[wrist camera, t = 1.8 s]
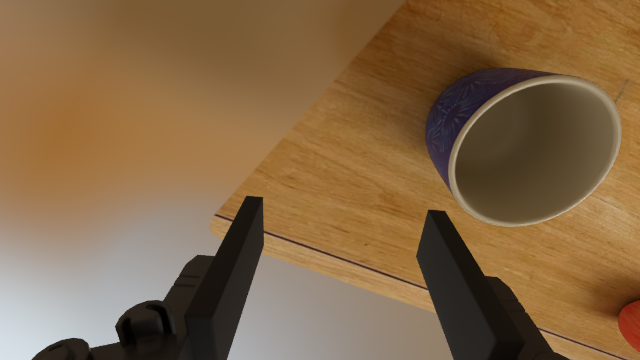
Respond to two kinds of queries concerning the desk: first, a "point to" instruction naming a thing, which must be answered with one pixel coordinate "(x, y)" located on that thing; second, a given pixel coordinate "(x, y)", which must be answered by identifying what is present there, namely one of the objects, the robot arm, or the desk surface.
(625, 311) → the apple
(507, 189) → the planter
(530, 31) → the desk surface
